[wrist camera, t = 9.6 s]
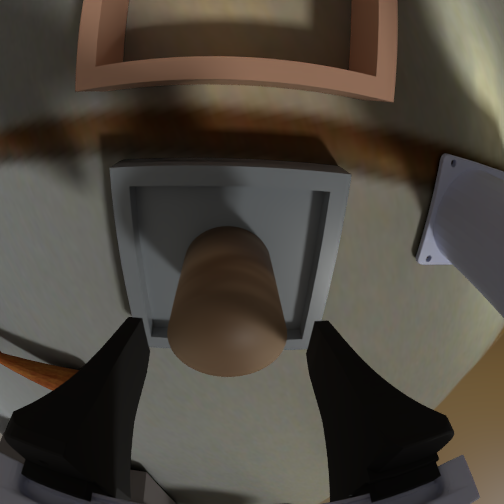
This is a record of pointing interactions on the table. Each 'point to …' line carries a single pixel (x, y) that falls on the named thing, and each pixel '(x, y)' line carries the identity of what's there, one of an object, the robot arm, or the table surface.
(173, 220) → the tray
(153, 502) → the organizer tray
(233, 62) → the holder
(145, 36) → the table surface
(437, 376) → the table surface
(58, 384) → the kendama
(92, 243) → the table surface
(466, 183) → the robot arm
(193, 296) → the brown rounded cylinder
